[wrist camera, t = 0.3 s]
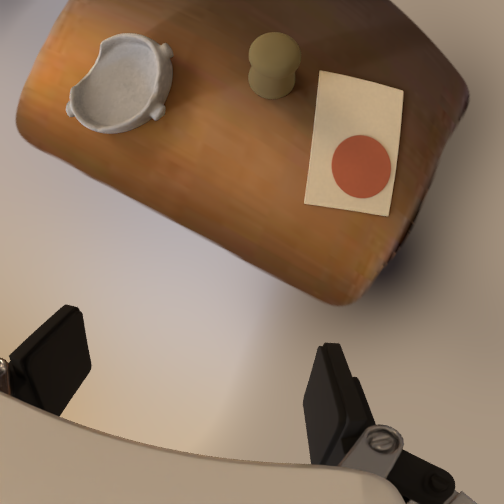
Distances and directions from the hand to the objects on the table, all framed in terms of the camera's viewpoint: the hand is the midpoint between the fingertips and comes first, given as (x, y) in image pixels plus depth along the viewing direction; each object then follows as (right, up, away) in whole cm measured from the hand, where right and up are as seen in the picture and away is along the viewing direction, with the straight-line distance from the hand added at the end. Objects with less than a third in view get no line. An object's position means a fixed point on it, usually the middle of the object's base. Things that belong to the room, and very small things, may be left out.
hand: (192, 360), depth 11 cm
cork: (+5, +26, +24) cm, 36 cm away
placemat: (+16, +18, +26) cm, 36 cm away
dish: (-14, +26, +25) cm, 39 cm away
